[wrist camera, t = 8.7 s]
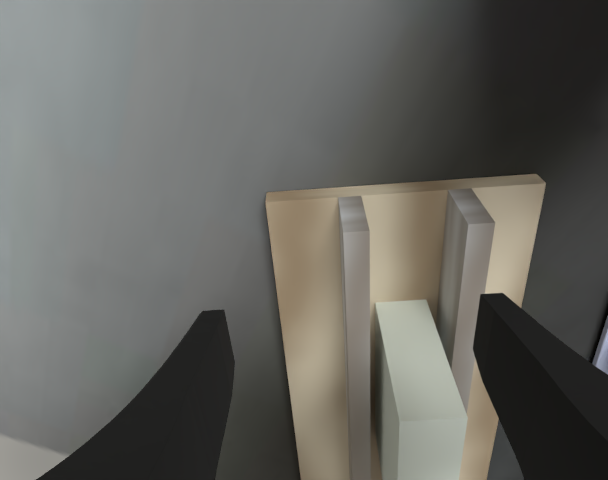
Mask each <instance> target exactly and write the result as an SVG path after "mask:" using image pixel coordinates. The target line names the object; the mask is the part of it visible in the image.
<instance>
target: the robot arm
mask: <svg viewBox="0 0 608 480" xmlns="http://www.w3.org/2000/svg"><path fill="white" fill-rule="evenodd" d="M473 352H474V355H475V359H476V362H477V366H478V369H479V372H480V375H481V378H482V382H483V384H484V386H485V389H486V391H487V393H488V395H489V398H490V400H491V402H492V404H493V407H494V409H495V411H496V413H497V415H498V418H499V420H500V422H501V424H502V426H503V429H504V431H505V433H506V435H507V438H508V440H509V442H510V444H511V446H512V449H513V451H514V453H515V455H516V458H517V460H518V463H519V465H520V468H521V470H522V473H523V476H524V479H525V480H608V316H607V319H606V322H605V325H604V328H603V332H602V335H601V338H600V341H599V344H598V347H597V350H596V353H595V356H594V359H593V362H592V364H591V363H590V362H589V361H587V360H586V359H584V358H583V357H582V356H580V355H579V354H577V353H576V352H575V351H573V350H572V349H571V348H569V347H568V346H567V345H565V344H564V343H563V342H562V341H560V340H559V339H558V338H556V337H555V336H554V335H553V334H551V333H550V332H549V331H548V330H546V329H545V328H544V327H543V326H542V325H540V324H539V323H538V322H537V321H536V320H534V319H533V318H532V317H531V316H530V315H528V314H527V313H526V312H525V311H524V310H523V309H521V308H520V307H519V306H518V305H517V304H516V303H514V302H513V301H512V300H511V299H510V298H508V297H507V296H506V295H505V294H504V293H491V294H480V301H479V308H478V315H477V322H476V329H475V336H474V342H473ZM234 365H235V361H234V356H233V351H232V346H231V341H230V337H229V332H228V327H227V322H226V317H225V312H224V310H210V311H202V312H201V313H200V315H199V316H198V317H197V319H196V320H195V322H194V323H193V325H192V326H191V328H190V329H189V331H188V332H187V333H186V335H185V336H184V338H183V339H182V340H181V342H180V343H179V344H178V346H177V347H176V348H175V350H174V351H173V352H172V354H171V355H170V356H169V358H168V359H167V360H166V362H165V363H164V364H163V365H162V367H161V368H160V369H159V370H158V371H157V373H156V374H155V375H154V376H153V377H152V378H151V380H150V381H149V382H148V383H147V384H146V386H145V387H144V388H143V389H142V390H141V391H140V392H139V393H138V394H137V396H136V397H135V398H134V399H133V400H132V401H131V402H130V403H129V404H128V405H127V406H126V407H125V408H124V409H123V410H122V411H121V412H120V413H119V414H118V415H117V416H116V417H115V418H114V419H113V420H111V421H110V422H109V423H108V424H107V425H106V426H105V427H104V428H102V429H101V430H100V431H99V432H98V433H97V434H96V435H94V436H93V437H92V438H91V439H90V440H89V441H88V442H86V443H85V444H84V445H83V446H81V447H80V448H79V449H78V450H76V451H75V452H74V453H72V454H71V455H70V456H69V457H67V458H66V459H65V460H63V461H62V462H60V463H59V464H58V465H56V466H55V467H54V468H52V469H51V470H49V471H48V472H47V473H45V474H44V475H43V476H41V477H39V478H38V479H36V480H215V476H216V470H217V465H218V460H219V455H220V451H221V446H222V441H223V436H224V432H225V427H226V422H227V417H228V412H229V407H230V403H231V397H232V389H233V378H234Z"/></svg>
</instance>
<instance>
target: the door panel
mask: <svg viewBox="0 0 608 480" xmlns="http://www.w3.org/2000/svg"><path fill="white" fill-rule="evenodd" d="M467 420H468V417H467V414H466V411H465V408H464V406H463V403H462V400H461V397H460V394H459V391H458V388H457V386H456V383H455V380H454V377H453V374H452V371H451V369H450V366H449V363H448V360H447V357H446V354H445V351H444V349H443V346H442V343H441V340H440V337H439V334H438V332H437V329H436V326H435V323H434V320H433V317H432V314H431V312H430V309H429V306H428V303H427V300H426V299H424V300H408V301H393V302H377V303H375V435H376V441H377V448H378V454H379V461H380V468H381V474H382V480H459V474H460V468H461V461H462V454H463V447H464V440H465V434H466V427H467Z"/></svg>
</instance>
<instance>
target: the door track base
mask: <svg viewBox="0 0 608 480" xmlns="http://www.w3.org/2000/svg"><path fill="white" fill-rule="evenodd" d="M545 186H546V183H545V182H544V181H543V180H542V179H541V178H540V177H539V176H538V175H537V174H525V175H511V176H496V177H482V178H467V179H453V180H438V181H424V182H409V183H394V184H380V185H365V186H351V187H336V188H322V189H307V190H293V191H278V192H267V195H266V202H265V203H266V210H267V218H268V226H269V234H270V242H271V250H272V257H273V265H274V273H275V281H276V289H277V296H278V304H279V312H280V320H281V328H282V335H283V343H284V351H285V359H286V367H287V375H288V382H289V390H290V398H291V406H292V414H293V421H294V429H295V437H296V445H297V453H298V460H299V468H300V476H301V480H382V474H381V468H380V461H379V454H378V448H377V441H376V435H375V303H377V302H393V301H408V300H424V299H426V300H427V303H428V306H429V309H430V312H431V314H432V317H433V320H434V323H435V326H436V329H437V332H438V334H439V337H440V340H441V343H442V346H443V349H444V351H445V354H446V357H447V360H448V363H449V366H450V369H451V371H452V374H453V377H454V380H455V383H456V386H457V388H458V391H459V394H460V397H461V400H462V403H463V406H464V408H465V411H466V414H467V417H468V420H467V427H466V434H465V440H464V447H463V454H462V461H461V468H460V474H459V480H486V479H487V474H488V469H489V464H490V459H491V454H492V449H493V444H494V439H495V434H496V429H497V424H498V419H499V418H498V415H497V413H496V411H495V409H494V407H493V404H492V402H491V400H490V398H489V395H488V393H487V391H486V389H485V386H484V384H483V382H482V378H481V375H480V372H479V369H478V366H477V362H476V359H475V355H474V352H473V342H474V336H475V329H476V322H477V315H478V308H479V301H480V294H491V293H504V294H505V295H506V296H507V297H508V298H510V299H511V300H512V301H513V302H514V303H516V304H517V305H518V306H519V307H520V308H521V305H522V300H523V295H524V291H525V286H526V281H527V276H528V271H529V266H530V261H531V256H532V251H533V246H534V241H535V236H536V231H537V226H538V221H539V216H540V211H541V206H542V201H543V196H544V191H545Z"/></svg>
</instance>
